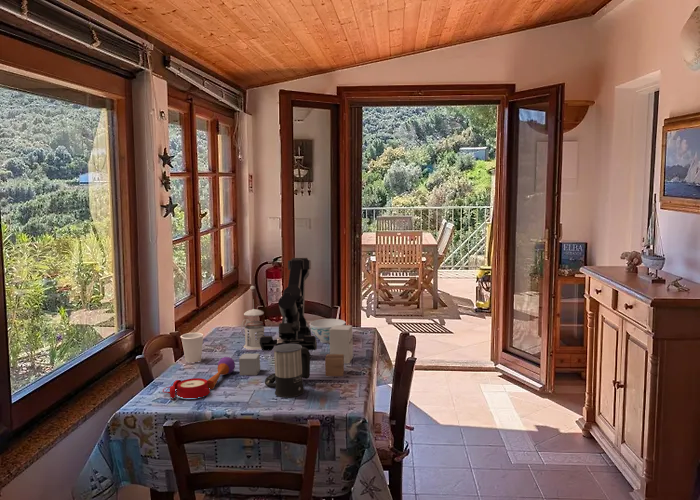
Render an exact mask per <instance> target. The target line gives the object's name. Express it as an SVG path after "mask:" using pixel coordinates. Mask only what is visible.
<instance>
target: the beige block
mask: <svg viewBox="0 0 700 500" xmlns="http://www.w3.org/2000/svg"><path fill="white" fill-rule="evenodd" d="M260 358H261V354H260V353H242V354H241V355H240V356H239V359H238V362H239V363H238V367H239V376H258V374H259V373H260V371H261V359H260Z"/></svg>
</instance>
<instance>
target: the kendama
mask: <svg viewBox="0 0 700 500" xmlns="http://www.w3.org/2000/svg"><path fill="white" fill-rule="evenodd" d="M235 367H236V364H235V361H234V359H233V358H231V356H224V357H223V356H222V357H221V359H219V361H218V362H217V367H216V369H217V372H216V373H214V374H213V376H211V377H210V378H209V379H206V380H207V382H212V383H208V388H210V389H209V390H213V389H214V388H215V386H216V384H217V383H218V380H219V379H220V377H221V375H222V376H224V375H229V374H231V373H233V371H234V370H235ZM213 381H214V383H213Z"/></svg>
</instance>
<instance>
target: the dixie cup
mask: <svg viewBox="0 0 700 500" xmlns="http://www.w3.org/2000/svg"><path fill="white" fill-rule="evenodd" d="M180 339H181V342H182V344H181V345H182V348H183V355H184V359H185V362H186V361H187V362H198V361H200V362H202V354H203V343H204V342H203V339H204V334H203V333H201V332H188V333H183V334H182V335H180ZM198 363H199V362H198Z"/></svg>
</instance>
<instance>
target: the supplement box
mask: <svg viewBox="0 0 700 500" xmlns="http://www.w3.org/2000/svg"><path fill="white" fill-rule="evenodd" d="M329 332H330V343H329V354H344V364H350V362H351V361H352V359H354V356H353V355H354V354H353V353H354V352H353V351H354V350H353V349H354V348H353V347H354V345H353V325H351V324H350V325H346V324H345V325H334V326H333V327H332V328H331V329H330V330H329Z"/></svg>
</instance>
